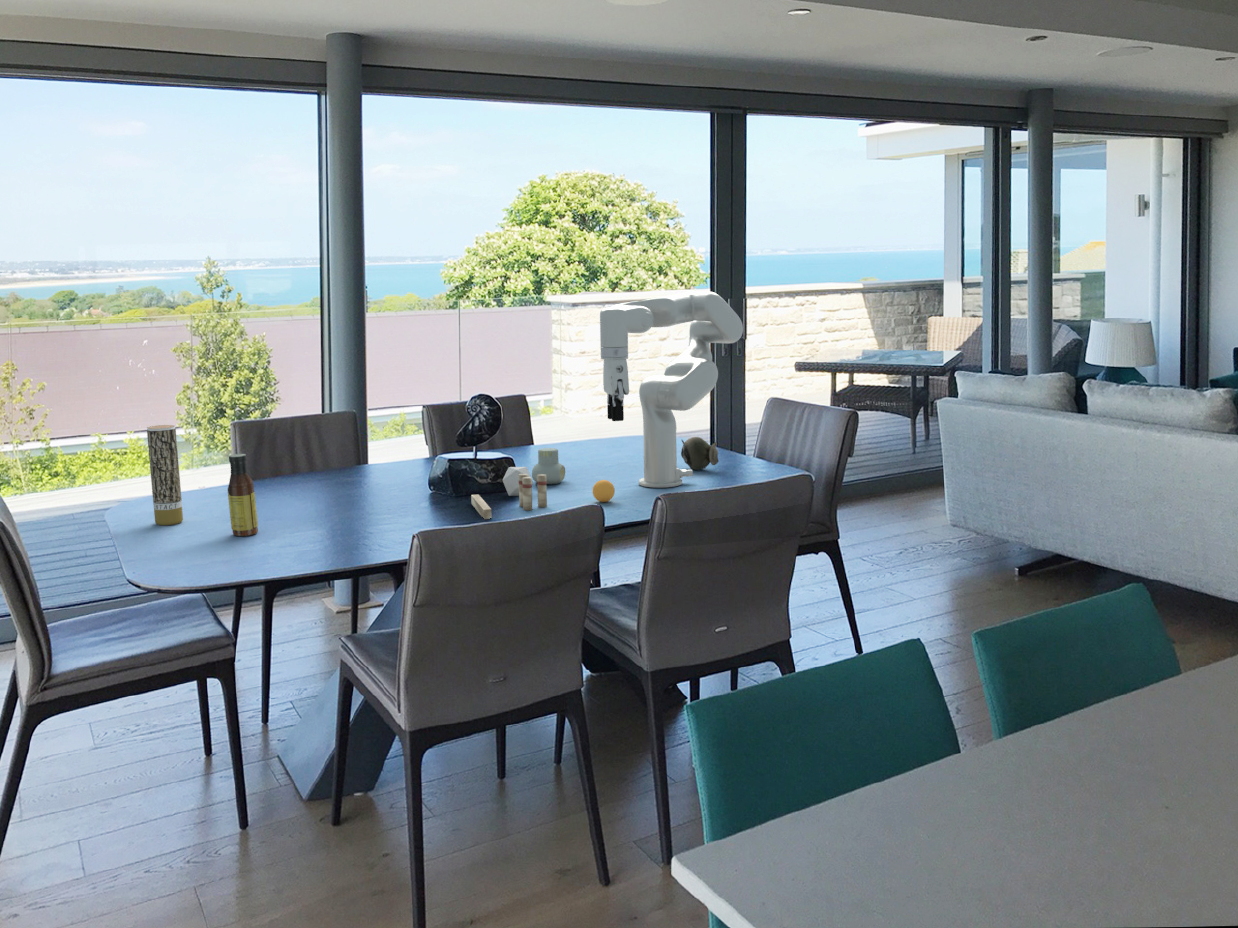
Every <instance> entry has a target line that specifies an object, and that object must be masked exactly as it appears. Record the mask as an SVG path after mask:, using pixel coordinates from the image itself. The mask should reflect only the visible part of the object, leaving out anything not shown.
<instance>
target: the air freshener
mask: <svg viewBox="0 0 1238 928" xmlns="http://www.w3.org/2000/svg"><path fill="white" fill-rule="evenodd" d="M537 453H538V454H537V456H538V457H537V459H538V461H537V462H538V463H537V464H534V465H533V467H532V469H531V470H532V472H531V478H532V481H533V482H536V483H537V475H540V474H544V475H546V483H547V484H546V485H557V484H561V482H563V480H564V479H565V476H566V467H565V465H564V464H562V463H560V462H559V449H557V448H553V447H544V448H543V447H542V448H539V449H538V450H537Z"/></svg>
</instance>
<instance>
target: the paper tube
mask: <svg viewBox="0 0 1238 928" xmlns="http://www.w3.org/2000/svg"><path fill="white" fill-rule="evenodd" d="M146 434H147V435H146V437H147V449H148V456H149V457H148V458H149V469H150V480H151V481H150V482H151V490H152V491H151V492H152V493H151V494H152V502H153V503H152V504H153V512H154V514H153V515H154V523H155V524H156V525H158V526H172V525H173V526H174V525H178V524H181V523H182V522H183V521H184V516H183V515H184V514H183V502H182V489H181V477H180V468H179V467H180V466H179V455H178V452H179V451H178V443H177V431H176V425H173V424H162V425H161V424H160V425H159V424H157V425H151V426H148V427H146Z"/></svg>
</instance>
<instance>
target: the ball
mask: <svg viewBox="0 0 1238 928" xmlns="http://www.w3.org/2000/svg"><path fill="white" fill-rule="evenodd" d="M615 492H616V491H615V486H614V484H613V483H612V482H611V481H609V480H606V479H601V480H598V481H596V482H595V483H594V485H593V487H592V495H593V497H594V498H595V500H597V501H598V502H600V503H607V502H610V500H612V499H613V498H614V495H615Z"/></svg>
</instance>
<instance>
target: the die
mask: <svg viewBox="0 0 1238 928" xmlns="http://www.w3.org/2000/svg"><path fill="white" fill-rule="evenodd" d="M519 474H528V477H531V480H532V485H533V484H534V480H533V478H532V475H531V474H530V472H529V469H528V467H527V466H510V467H509V466H508V468H507V470H506V472H505V474H504V476H503V478H502V483H503V485H504V487H505V490H506V492H507V494H508V496H509V497H517V496H518V497H519Z"/></svg>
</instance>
